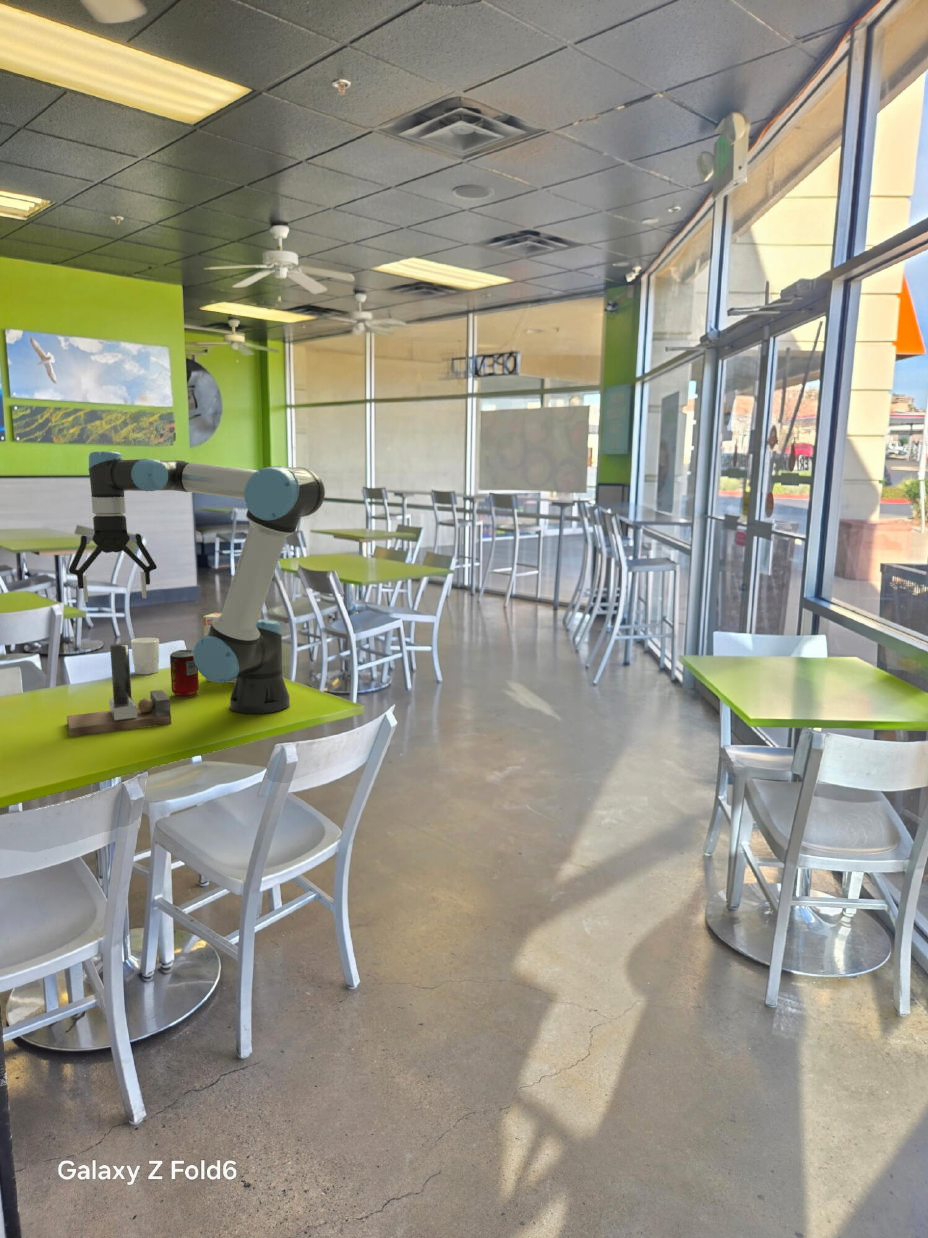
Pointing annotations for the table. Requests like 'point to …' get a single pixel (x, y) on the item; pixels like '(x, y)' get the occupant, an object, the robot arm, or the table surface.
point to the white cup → (145, 655)
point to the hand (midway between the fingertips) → (115, 599)
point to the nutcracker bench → (100, 722)
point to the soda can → (184, 674)
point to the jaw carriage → (121, 684)
